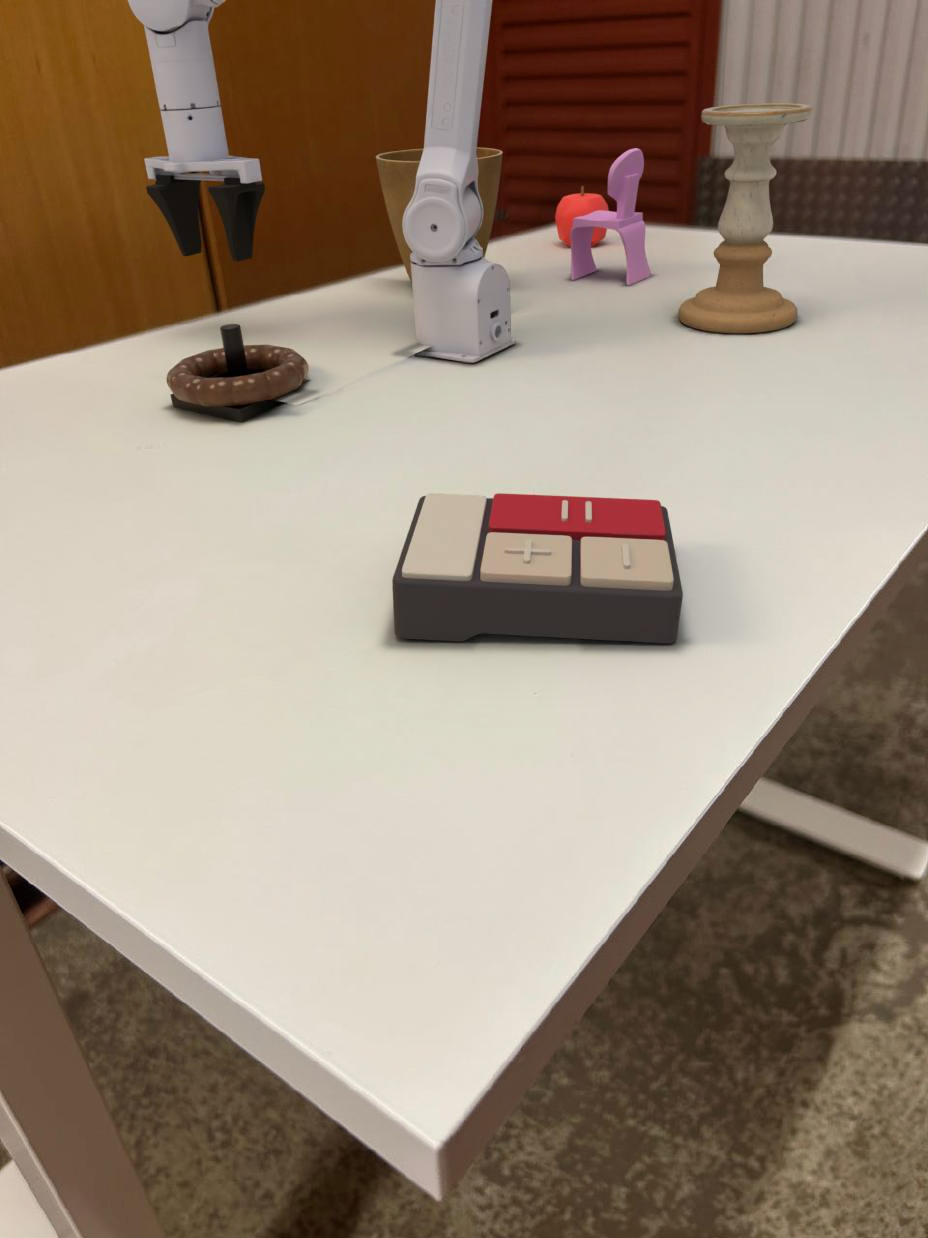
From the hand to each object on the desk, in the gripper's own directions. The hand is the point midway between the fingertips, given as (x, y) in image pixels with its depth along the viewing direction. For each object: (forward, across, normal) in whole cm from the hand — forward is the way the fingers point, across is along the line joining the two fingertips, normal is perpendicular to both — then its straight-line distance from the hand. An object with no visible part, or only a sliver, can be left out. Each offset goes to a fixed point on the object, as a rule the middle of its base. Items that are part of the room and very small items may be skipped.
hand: (217, 256), depth 99 cm
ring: (+7, +14, -12) cm, 20 cm away
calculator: (+10, +56, -29) cm, 64 cm away
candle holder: (+10, +44, +32) cm, 55 cm away
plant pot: (+10, +7, +30) cm, 32 cm away
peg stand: (+9, +14, -12) cm, 21 cm away
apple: (+10, +8, +63) cm, 64 cm away
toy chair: (+10, +22, +45) cm, 51 cm away
